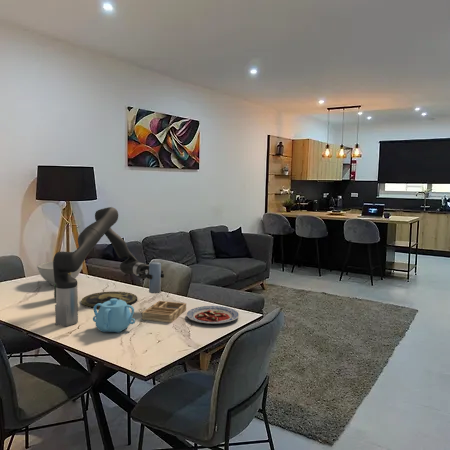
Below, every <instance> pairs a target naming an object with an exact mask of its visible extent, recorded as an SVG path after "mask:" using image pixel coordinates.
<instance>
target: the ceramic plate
mask: <svg viewBox="0 0 450 450" xmlns="http://www.w3.org/2000/svg"><path fill="white" fill-rule="evenodd" d="M186 317H187V318H188V319H189V320H191V321H193V322H197V323H201V324H202V323H203V324H209V325H211V324H214V325H215V324H216V325H217V324H225V323H231V322H233V321H236V320H237V319H239V317H240V313H239V311H237V310H236V309H235V308H231V307H227V306H220V305H219V306H218V305H204V306H197V307H193V308H192V309H190V310H188V311H187V312H186Z"/></svg>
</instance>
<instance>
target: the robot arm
mask: <svg viewBox="0 0 450 450" xmlns="http://www.w3.org/2000/svg"><path fill="white" fill-rule="evenodd" d="M94 213H95V214H94V219H95V221H94V222H92V223H91V224H89V225H88V226H86V227H84V228H83V230H82V231H81V232H80V234H78V237H77V243H78V244H77V245H78V247H77V249H76V250H74V251H58V252H56V253H55V255H54V257H53V260H52V261H53V270H54V281H55V283H56V299H55V301H56V304H55V305H54V314H55V315H54V316H55V326H61V327H69V326H73V325H75V324H77V323H79V310H78V309H79V307H78V306H79V304H78V303H79V302H78V301H79V300H78V280H77V279H76V278H73V277H71V276H70V275H69V274H68V272H75V271H77V270H78V269H79V268H80V266H81V265H82V263H84V261H85V260H86V258H87V257H88V255H89V254H90V253H91V252H92V250H93V249H94V247H96V245H97V244H98V243H99V242H100V240H101V239H102V238H103V237H104V235H105V237H107V240H109V243H110V244H111V245H112V247H113V250H114V251H115V253H116V256H117V257H118V258H119V259H125V258H127V259H125V260H124V261H122V262H121V263H120V264H119V270H120V271H121V272H122V273H123V274H126V275H135V276H136V278H139V279H143V280H147V279H148V280H149V279H150V280H151V279H152V275H150V274H149V264H146V263H144V262H140V261H139V260H138V259H137V258H136V257H135V256H134V255H133V253H132V252H131V251H130V249H129V247H128V244H127V242H126V241H125V239H123V238H122V236H120V235H119V234H117V233H116V232H115V231H114V230H113V229H112V226H114V225H115V224H116V223H117V222H118V221H119V212H118V210H117V209H116V208H115V207H113V206H111V207H104V208H101V209H97V210H96V211H95V212H94ZM163 278H165V273H164V270H163V269H161V279H163Z"/></svg>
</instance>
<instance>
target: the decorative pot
mask: <svg viewBox="0 0 450 450" xmlns="http://www.w3.org/2000/svg"><path fill="white" fill-rule="evenodd" d="M97 306H101V307H100V309H96V307H97ZM92 309H93V313H94V316H93V317H92V321H93V322H94V323H95V327H96V328H97V329H98V330H99V331H100V332H102V333H103V332H104V333H106V332H111V333H114V332H115V333H122V331H123V330H126V329H127V328H128V327H129V326H130V325H134V324H135V323H136V319H135V318H133V317H134V313H135V308H134V306H133V305H127V303H126V302H125V301H122V300H117V299H115V298H114V299H110V301H106V302H104V303H103V304H101V303H98V304H96V305H95V306H94V308H92Z"/></svg>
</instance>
